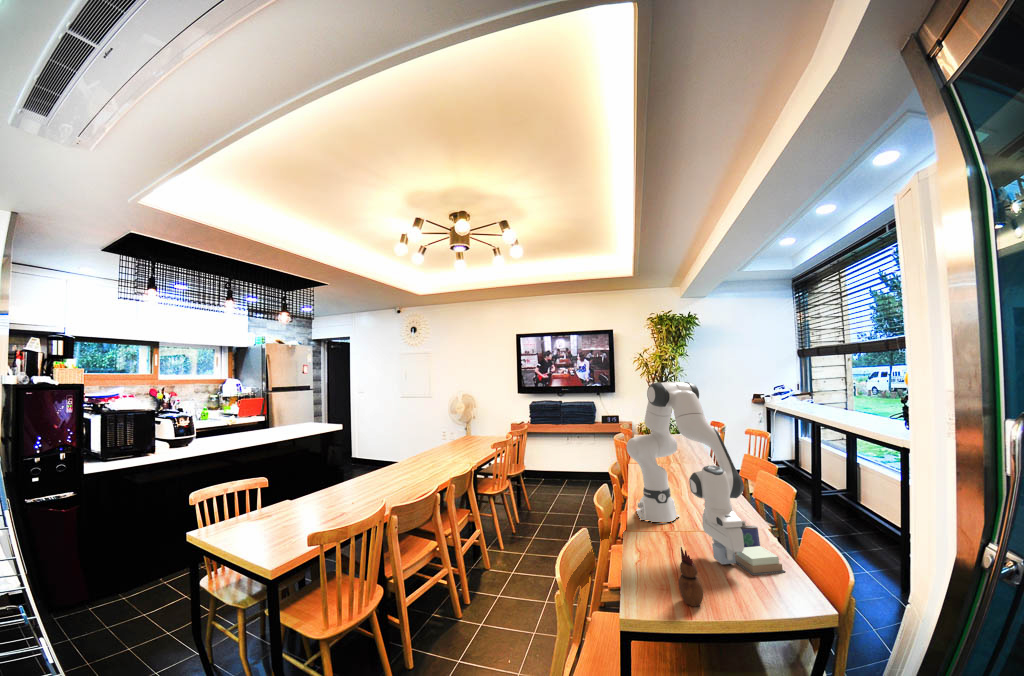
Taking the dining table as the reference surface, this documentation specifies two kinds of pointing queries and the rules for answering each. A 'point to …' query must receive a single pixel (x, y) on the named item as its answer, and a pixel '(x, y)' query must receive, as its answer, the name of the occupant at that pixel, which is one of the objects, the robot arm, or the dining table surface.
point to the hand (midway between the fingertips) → (724, 555)
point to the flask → (750, 535)
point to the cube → (721, 554)
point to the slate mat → (761, 572)
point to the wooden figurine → (689, 582)
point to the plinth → (759, 568)
